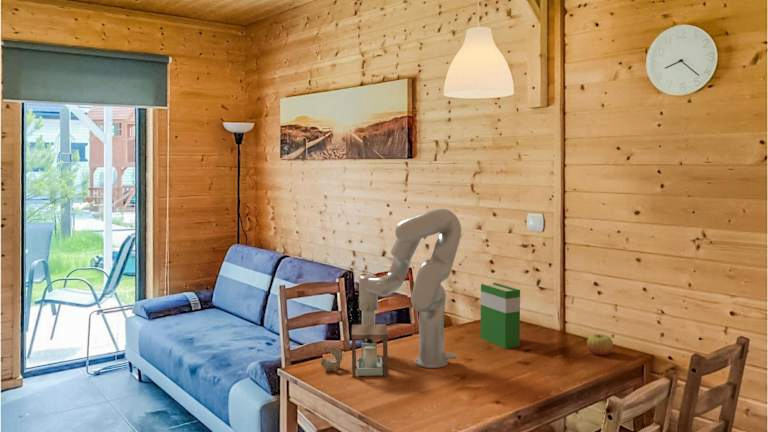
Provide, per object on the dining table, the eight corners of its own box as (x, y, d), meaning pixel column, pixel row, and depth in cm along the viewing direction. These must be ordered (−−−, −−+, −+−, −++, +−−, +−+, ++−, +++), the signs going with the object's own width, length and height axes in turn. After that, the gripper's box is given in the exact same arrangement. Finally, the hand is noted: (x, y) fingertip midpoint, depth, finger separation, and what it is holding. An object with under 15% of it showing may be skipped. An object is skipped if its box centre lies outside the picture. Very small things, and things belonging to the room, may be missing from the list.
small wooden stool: (386, 364, 237) (386, 324, 236) (387, 377, 224) (387, 334, 222) (352, 365, 237) (352, 324, 236) (352, 378, 223) (351, 335, 222)
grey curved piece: (325, 372, 225) (321, 345, 230) (320, 376, 231) (316, 350, 235) (347, 370, 229) (343, 343, 233) (341, 374, 234) (337, 348, 238)
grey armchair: (380, 355, 248) (380, 342, 247) (382, 375, 225) (382, 361, 224) (357, 355, 248) (357, 343, 247) (357, 375, 225) (356, 361, 224)
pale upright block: (377, 364, 234) (376, 346, 233) (376, 369, 229) (376, 350, 228) (363, 364, 234) (363, 346, 233) (362, 369, 229) (362, 350, 228)
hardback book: (480, 337, 273) (480, 284, 271) (494, 335, 276) (494, 282, 274) (505, 348, 257) (505, 291, 255) (519, 346, 260) (520, 290, 258)
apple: (585, 355, 247) (586, 336, 246) (587, 348, 256) (588, 329, 255) (612, 358, 243) (612, 338, 242) (612, 351, 252) (613, 332, 251)
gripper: (359, 301, 256) (360, 344, 258) (359, 310, 241) (359, 356, 243) (377, 301, 256) (378, 344, 258) (378, 309, 241) (378, 355, 243)
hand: (369, 350), depth 250 cm, fingers closed
